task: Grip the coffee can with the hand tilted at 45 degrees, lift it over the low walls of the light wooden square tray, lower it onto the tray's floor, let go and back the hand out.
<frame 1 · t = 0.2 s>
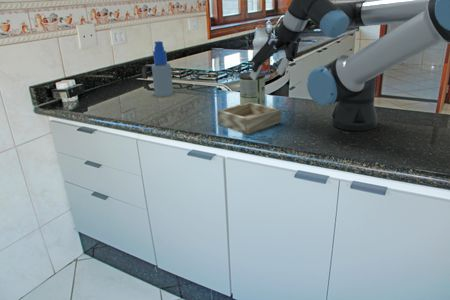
hand: (266, 75, 137), 15 cm above the countertop, tool tilted 35°, fingers open, 13 cm apart
fruit juice: (261, 78, 208), on the countertop
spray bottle: (164, 94, 183), on the countertop
coffee can: (252, 109, 153), on the countertop
light wooden square tray: (249, 123, 135), on the countertop
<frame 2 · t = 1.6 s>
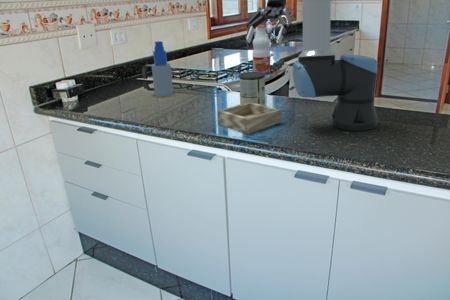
hand: (263, 41, 152), 25 cm above the countertop, tool tilted 45°, fingers open, 13 cm apart
nothing on the countertop moved.
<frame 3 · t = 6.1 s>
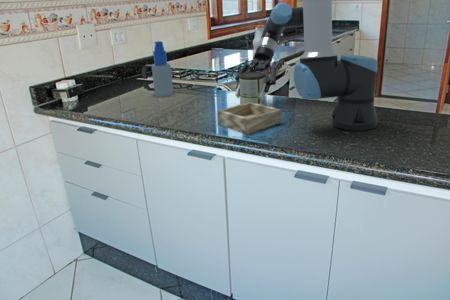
hand: (248, 97, 148), 5 cm above the countertop, tool tilted 45°, fingers closed on coffee can, 10 cm apart
coffee can: (252, 109, 153), on the countertop, touching gripper
everything else where it was.
when the fingers open (8 cm above the countertop, at t = 13.3 s): coffee can drops 2 cm, resting on light wooden square tray.
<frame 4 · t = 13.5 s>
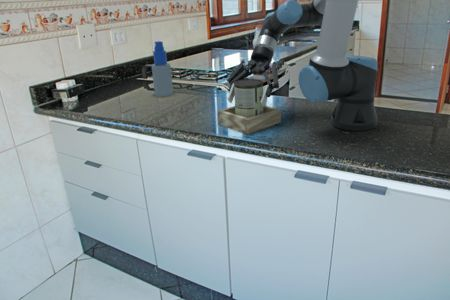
hand: (245, 102, 130), 8 cm above the countertop, tool tilted 45°, fingers open, 12 cm apart
coffee can: (249, 121, 135), point 1 cm above the countertop, touching light wooden square tray
everything else where it was.
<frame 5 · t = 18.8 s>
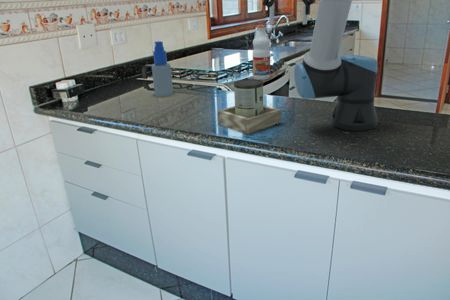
hand: (287, 24, 146), 32 cm above the countertop, tool pointing down, fingers open, 13 cm apart
nothing on the countertop moved.
at the end: coffee can 0.0 cm off-centre on the light wooden square tray, point 0.8 cm above the light wooden square tray's base; coffee can tilted 0°; the gripper is holding nothing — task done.
